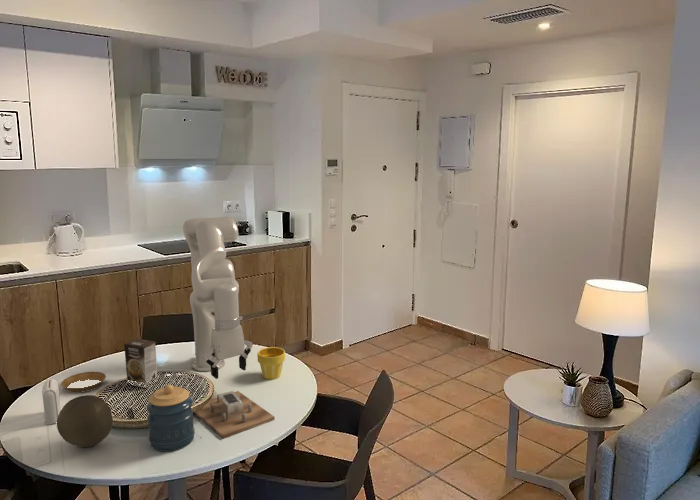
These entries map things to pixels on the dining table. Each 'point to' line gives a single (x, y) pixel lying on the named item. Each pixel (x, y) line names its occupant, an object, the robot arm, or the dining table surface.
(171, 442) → the canister
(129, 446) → the dining table surface
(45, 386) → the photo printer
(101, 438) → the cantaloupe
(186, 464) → the dining table surface
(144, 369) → the coffee box
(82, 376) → the plant saucer
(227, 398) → the block
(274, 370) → the plant pot
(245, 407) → the wooden peg board
